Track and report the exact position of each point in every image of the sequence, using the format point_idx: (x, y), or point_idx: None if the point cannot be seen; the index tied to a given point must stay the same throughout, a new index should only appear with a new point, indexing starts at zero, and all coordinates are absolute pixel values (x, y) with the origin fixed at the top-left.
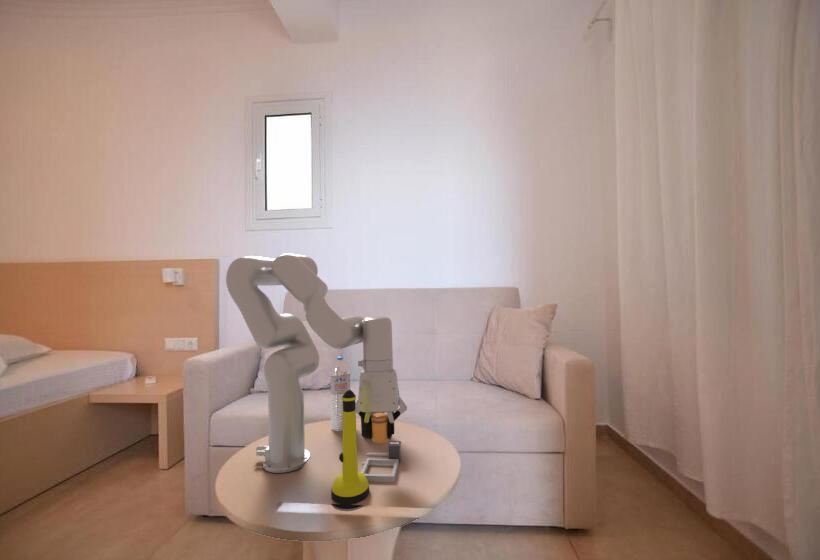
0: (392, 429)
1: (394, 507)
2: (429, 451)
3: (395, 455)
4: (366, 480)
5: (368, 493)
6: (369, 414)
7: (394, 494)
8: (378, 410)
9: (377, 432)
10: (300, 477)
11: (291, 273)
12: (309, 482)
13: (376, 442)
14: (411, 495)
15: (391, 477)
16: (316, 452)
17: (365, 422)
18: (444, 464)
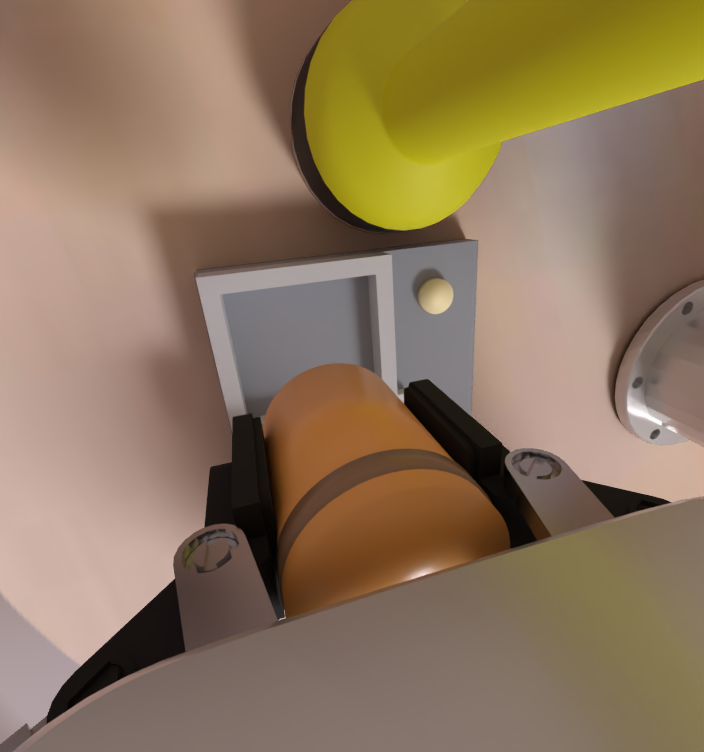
0: (219, 489)
1: (126, 72)
2: (143, 595)
3: None
4: (325, 135)
5: (296, 117)
6: (558, 530)
7: (175, 204)
8: (464, 593)
9: (362, 400)
10: (624, 270)
11: None
12: (585, 240)
13: (349, 365)
14: (75, 209)
15: (212, 274)
16: (599, 450)
17: (534, 449)
18: (15, 522)
